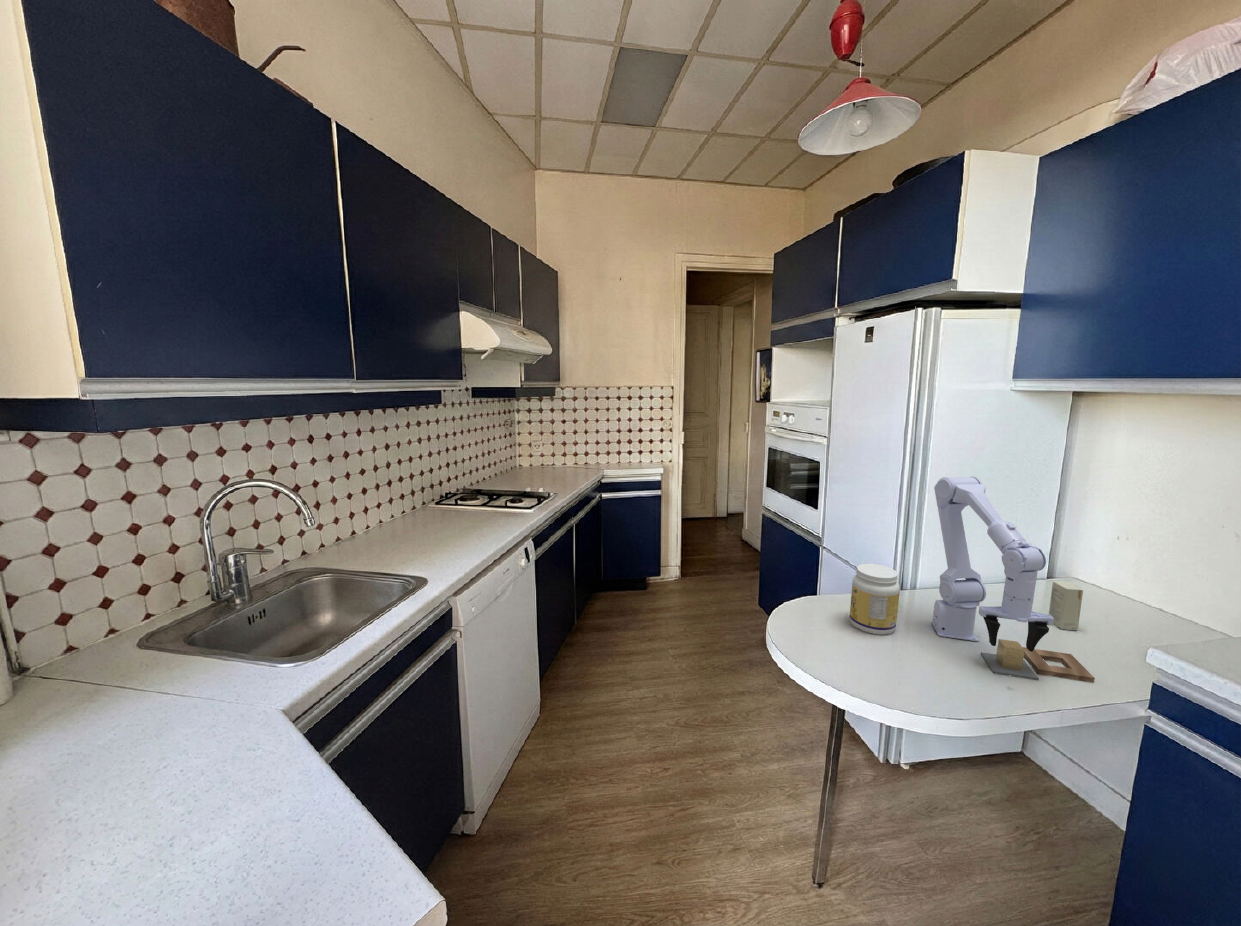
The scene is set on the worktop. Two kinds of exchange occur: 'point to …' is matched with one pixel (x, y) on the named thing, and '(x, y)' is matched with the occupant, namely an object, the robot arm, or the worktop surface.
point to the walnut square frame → (1071, 671)
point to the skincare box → (1065, 605)
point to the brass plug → (1010, 654)
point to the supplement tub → (875, 599)
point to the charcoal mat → (998, 669)
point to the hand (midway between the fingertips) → (1010, 646)
